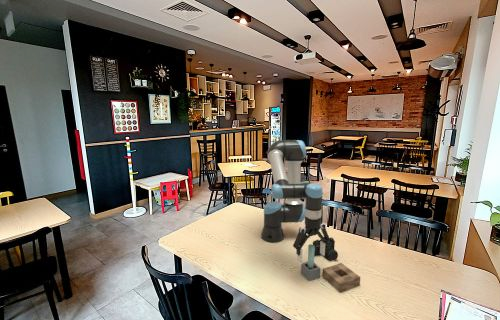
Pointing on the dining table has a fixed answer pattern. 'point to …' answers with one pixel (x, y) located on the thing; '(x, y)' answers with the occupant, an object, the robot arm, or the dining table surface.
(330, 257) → the camera
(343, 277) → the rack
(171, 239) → the dining table surface
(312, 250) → the dowel
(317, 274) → the pen cup
